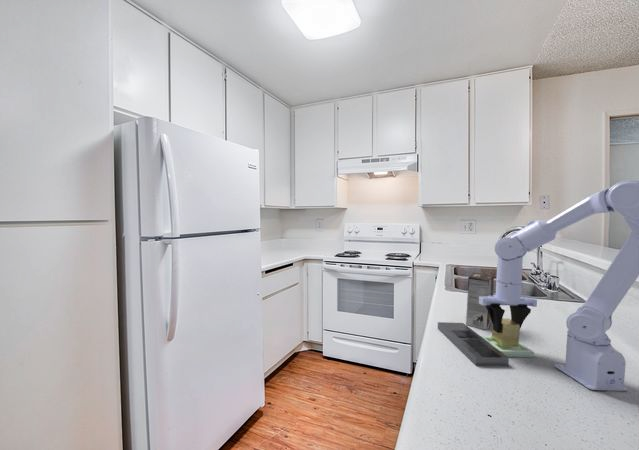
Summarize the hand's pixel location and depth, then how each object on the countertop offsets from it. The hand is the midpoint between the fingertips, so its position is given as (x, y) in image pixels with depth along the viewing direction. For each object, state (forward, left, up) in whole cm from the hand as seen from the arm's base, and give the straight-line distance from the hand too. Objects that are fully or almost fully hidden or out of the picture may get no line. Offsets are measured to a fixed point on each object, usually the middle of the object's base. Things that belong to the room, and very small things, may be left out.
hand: (505, 331), depth 79 cm
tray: (0, 0, -5) cm, 5 cm away
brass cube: (0, 0, -3) cm, 3 cm away
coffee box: (+18, -3, -5) cm, 19 cm away
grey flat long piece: (+2, +9, -5) cm, 10 cm away
